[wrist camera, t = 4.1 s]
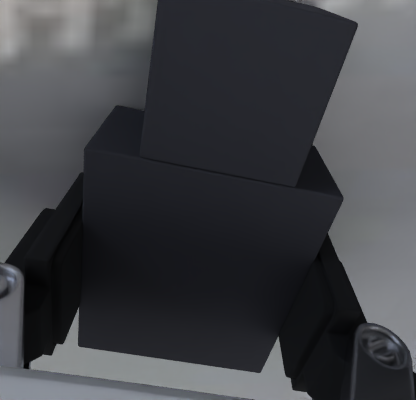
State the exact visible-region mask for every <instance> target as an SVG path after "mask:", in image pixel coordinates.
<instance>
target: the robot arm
mask: <svg viewBox="0 0 416 400" xmlns="http://www.w3.org/2000/svg"><path fill="white" fill-rule="evenodd" d="M83 175H84V173H80V174H79V176H78V177H77V179H76V180H75V182H74V183H73V185H72V186H71V188H70V189H69V191H68V192H67V193H66V195H65V196H64V198H63V199H62V201H61V202H60V204H59V205H58V207H57V208H56V210H55V209H49V208H45V209H44V210H43V211H42V212H41V213H40V214H39V216H38V217H37V219H36V220H35V221H34V223H33V224H32V226H31V227H30V228H29V230H28V231H27V232H26V234H25V235H24V237H23V238H22V239H21V241H20V242H19V244H18V245H17V246H16V248H15V249H14V250H13V252H12V253H11V255H10V256H9V257H8V259H7V260H6V262H5V263H0V400H253V399H246V398H239V397H231V396H224V395H217V394H210V393H203V392H196V391H188V390H181V389H174V388H167V387H159V386H152V385H145V384H137V383H130V382H122V381H115V380H108V379H100V378H93V377H85V376H78V375H70V374H63V373H55V372H48V371H39V370H31V361H33V360H35V359H36V358H38V357H40V356H42V354H44V355H51V356H52V353H53V351H54V349H55V346H56V344H63V343H64V341H65V339H66V337H67V334H68V332H69V330H70V327H71V325H72V322H73V320H74V317H75V315H76V312H77V310H78V308H79V305H80V291H81V262H82V232H83V222H82V206H83ZM279 341H280V347H281V353H282V359H283V365H284V371H285V375H286V377H289V378H291V383H292V388H293V390H295V391H302V392H307V394H308V395H309V396H310V397H312V400H416V373H415V372H413V368H412V358H411V355H410V351H409V350H408V348H407V346H406V345H405V343H404V342H403V341H402V340H401V339H400V338H399V337H398V336H397V335H396V334H394V333H393V332H392V331H390V330H389V329H387V328H385V327H383V326H381V325H378V324H375V323H367V321H366V319H365V316H364V314H363V312H362V309H361V307H360V304H359V302H358V300H357V297H356V295H355V293H354V290H353V288H352V286H351V283H350V281H349V278H348V276H347V274H346V271H345V269H344V267H343V265H342V263H341V262H340V261H339V259H338V257H337V254H336V252H335V249H334V247H333V245H332V242H331V240H330V237H329V235H328V233H327V235H326V237H325V239H324V241H323V244H322V246H321V248H320V250H319V252H318V254H317V256H316V258H315V260H314V262H313V264H312V266H311V268H310V270H309V272H308V274H307V276H306V278H305V280H304V282H303V284H302V287H301V289H300V291H299V293H298V295H297V297H296V299H295V301H294V303H293V305H292V307H291V310H290V312H289V314H288V316H287V318H286V320H285V322H284V324H283V326H282V328H281V330H280V333H279Z"/></svg>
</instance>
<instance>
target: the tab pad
mask: <svg viewBox="0 0 416 400" xmlns="http://www.w3.org/2000/svg"><path fill="white" fill-rule="evenodd" d="M357 27H358V24H357V23H356V22H354V21H352V20H349V19H347V18H344V17H341V16H339V15H336V14H334V13H331V12H328V11H326V10H323V9H320V8H318V7H313V6H309V5H305V4H301V3H297V2H293V1H289V0H158V5H157V13H156V21H155V30H154V38H153V46H152V55H151V63H150V71H149V80H148V88H147V96H146V105H145V111H142V110H137V109H132V108H127V107H122V106H115V108H114V109H113V110H112V112H111V113H110V114H109V116H108V117H107V118H106V120H105V121H104V122H103V124H102V125H101V127H100V128H99V129H98V131H97V132H96V133H95V135H94V136H93V137H92V139H91V140H90V141H89V143H88V144H87V146H86V147H85V149H84V175H83V206H82V222H83V232H82V262H81V291H80V305H79V331H78V346H79V347H85V348H92V349H99V350H106V351H112V352H119V353H126V354H133V355H140V356H147V357H154V358H160V359H167V360H174V361H181V362H188V363H195V364H202V365H208V366H215V367H222V368H229V369H236V370H243V371H250V372H256V373H260V372H261V371H262V369H263V367H264V365H265V362H266V360H267V358H268V356H269V354H270V352H271V350H272V348H273V346H274V344H275V342H276V340H277V337H278V335H279V333H280V330H281V328H282V326H283V324H284V322H285V320H286V318H287V316H288V314H289V312H290V310H291V307H292V305H293V303H294V301H295V299H296V297H297V295H298V293H299V291H300V289H301V287H302V284H303V282H304V280H305V278H306V276H307V274H308V272H309V270H310V268H311V266H312V264H313V262H314V260H315V258H316V256H317V254H318V252H319V250H320V248H321V246H322V244H323V241H324V239H325V237H326V235H327V233H328V231H329V229H330V227H331V225H332V223H333V221H334V218H335V216H336V214H337V212H338V210H339V208H340V206H341V204H342V202H343V196H342V194H341V192H340V190H339V189H338V187H337V185H336V183H335V181H334V179H333V178H332V176H331V174H330V172H329V170H328V169H327V167H326V165H325V163H324V161H323V160H322V158H321V156H320V154H319V152H318V151H317V149H316V147H315V146H312V143H313V140H314V138H315V135H316V133H317V130H318V128H319V125H320V122H321V120H322V117H323V115H324V112H325V110H326V107H327V104H328V102H329V99H330V97H331V94H332V92H333V89H334V86H335V84H336V81H337V79H338V76H339V73H340V71H341V68H342V66H343V63H344V61H345V58H346V55H347V53H348V50H349V48H350V45H351V43H352V40H353V37H354V35H355V32H356V30H357Z"/></svg>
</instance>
